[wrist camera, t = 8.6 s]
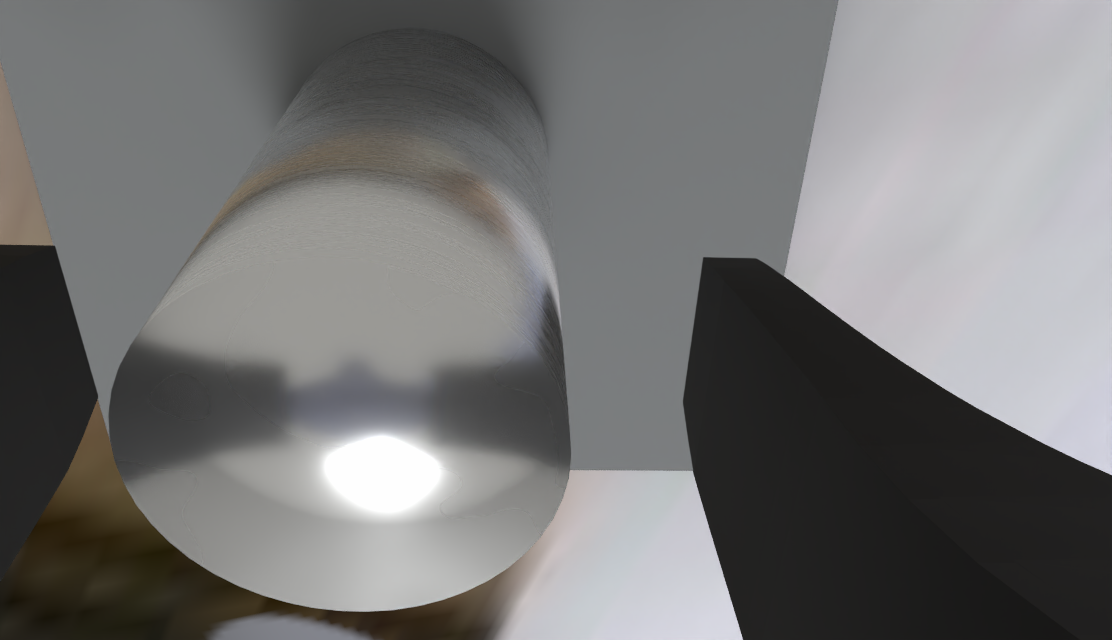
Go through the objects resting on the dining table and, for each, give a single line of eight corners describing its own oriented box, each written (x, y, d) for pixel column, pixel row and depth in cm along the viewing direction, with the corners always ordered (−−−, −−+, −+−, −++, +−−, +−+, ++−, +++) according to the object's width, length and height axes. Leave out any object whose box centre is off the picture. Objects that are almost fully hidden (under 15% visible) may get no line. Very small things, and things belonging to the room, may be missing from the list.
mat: (876, -259, 12) (890, -261, 11) (740, 454, 18) (745, 470, 17) (-83, -305, 11) (-107, -307, 11) (127, 450, 17) (117, 467, 17)
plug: (566, 49, 13) (607, 289, 7) (529, 285, 15) (538, 624, 9) (285, 8, 13) (78, 229, 7) (287, 258, 15) (131, 596, 9)
